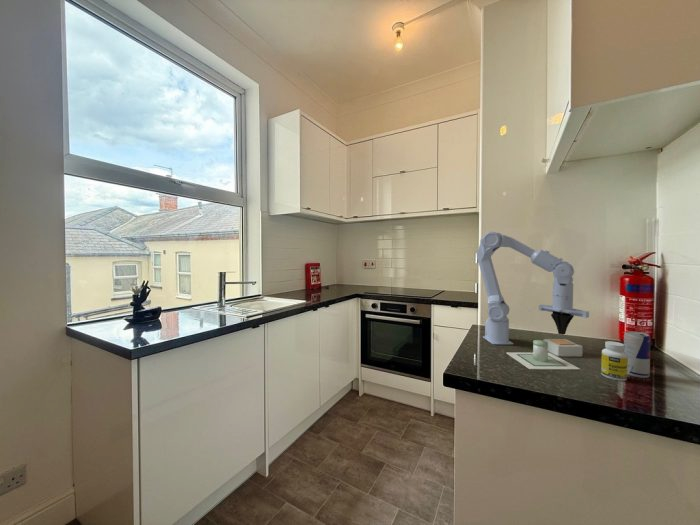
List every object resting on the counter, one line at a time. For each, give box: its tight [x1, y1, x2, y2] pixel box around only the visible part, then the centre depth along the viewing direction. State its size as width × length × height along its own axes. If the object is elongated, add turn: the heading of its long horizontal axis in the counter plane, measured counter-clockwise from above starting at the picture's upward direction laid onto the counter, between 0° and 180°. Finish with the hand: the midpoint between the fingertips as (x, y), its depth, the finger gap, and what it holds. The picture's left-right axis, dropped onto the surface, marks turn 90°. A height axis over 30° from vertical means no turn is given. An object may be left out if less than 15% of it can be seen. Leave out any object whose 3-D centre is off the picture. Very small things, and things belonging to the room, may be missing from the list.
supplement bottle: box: [600, 340, 628, 382], centre depth 80 cm, size 5×5×10 cm
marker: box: [532, 339, 549, 362], centre depth 92 cm, size 4×4×6 cm
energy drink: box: [623, 330, 651, 379], centre depth 81 cm, size 5×5×12 cm
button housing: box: [542, 338, 584, 358], centre depth 100 cm, size 8×8×4 cm
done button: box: [551, 339, 574, 345], centre depth 100 cm, size 5×5×2 cm
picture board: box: [505, 352, 581, 371], centre depth 93 cm, size 14×15×1 cm
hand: (561, 333), depth 100 cm, fingers closed
